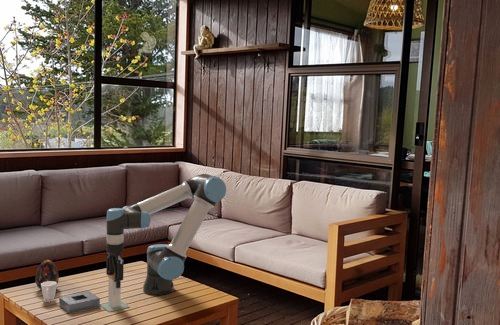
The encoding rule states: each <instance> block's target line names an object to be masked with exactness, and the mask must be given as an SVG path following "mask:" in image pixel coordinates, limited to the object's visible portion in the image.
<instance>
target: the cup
mask: <svg viewBox="0 0 500 325" xmlns="http://www.w3.org/2000/svg"><path fill="white" fill-rule="evenodd" d="M57 285H58V284H57V283H56V282H54V281H47V282H43V283H42V284H41V288H42V291H41V293H42V296H43V301H44V302H45V303H50V301H51V302H53V301H55V299H54V298H55V296H56V291H57Z"/></svg>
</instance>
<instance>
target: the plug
mask: <svg viewBox="0 0 500 325" xmlns="http://www.w3.org/2000/svg"><path fill="white" fill-rule="evenodd" d="M114 280H115V274H113V275H109V277H108V296H107V298H108V302H107V303H108V305H109V306H110V307H112V308H114V307H118V306H121V293H122V291H121V290H122V289H121V288H122V287H121V286H122V283H121V282H122V280H121V281H120V294H119V295H114Z"/></svg>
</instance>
